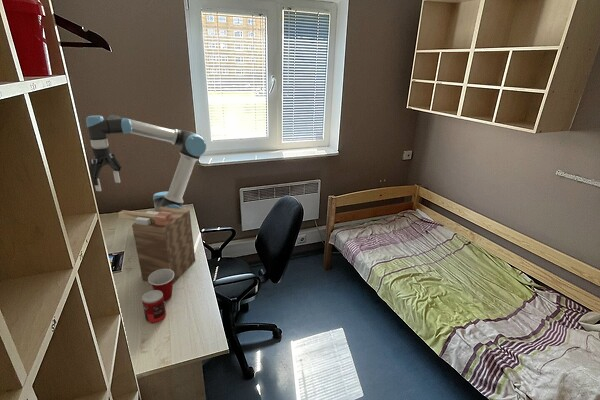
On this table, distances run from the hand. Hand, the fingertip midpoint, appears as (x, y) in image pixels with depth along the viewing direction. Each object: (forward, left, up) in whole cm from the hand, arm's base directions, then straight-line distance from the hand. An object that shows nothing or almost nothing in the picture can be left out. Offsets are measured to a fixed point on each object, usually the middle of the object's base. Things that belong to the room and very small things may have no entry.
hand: (108, 186), depth 174 cm
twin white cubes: (+19, +36, -7) cm, 41 cm away
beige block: (+19, +34, -7) cm, 40 cm away
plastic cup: (+34, +50, -37) cm, 71 cm away
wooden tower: (+14, +40, -37) cm, 56 cm away
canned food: (+46, +54, -37) cm, 80 cm away
